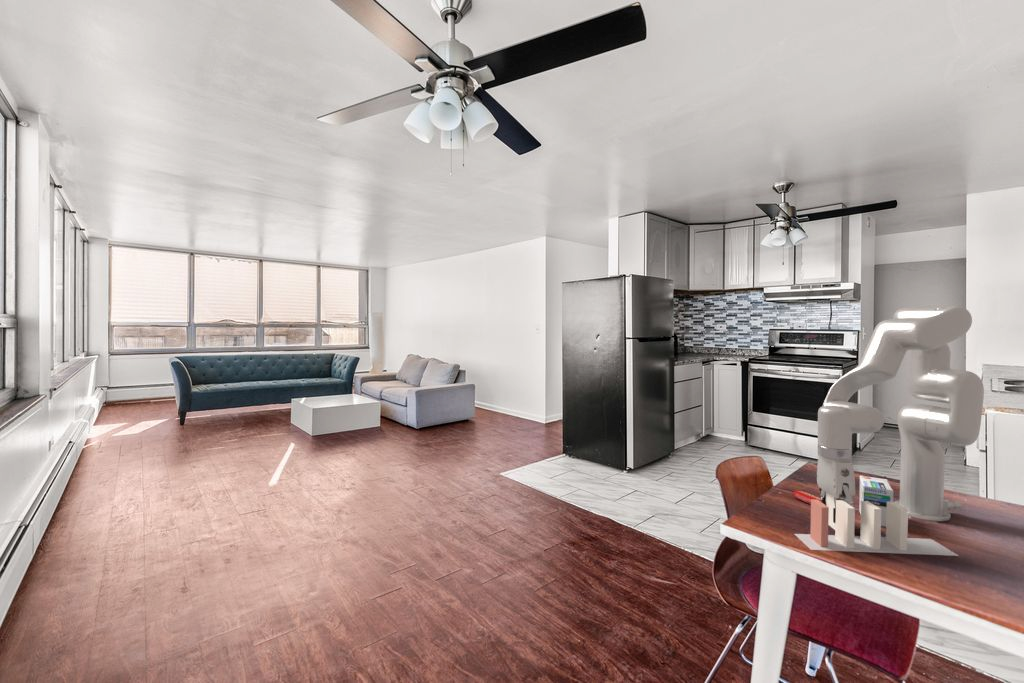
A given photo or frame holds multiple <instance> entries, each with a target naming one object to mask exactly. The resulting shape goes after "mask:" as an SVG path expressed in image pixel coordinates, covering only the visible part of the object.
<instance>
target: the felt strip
mask: <svg viewBox="0 0 1024 683" xmlns="http://www.w3.org/2000/svg"><path fill="white" fill-rule="evenodd" d="M794 536H796V537H797V538H798V540H799V541H801V542H802V543H803V544H804V545H805V546H806V547H808V548H809V550H810V551H828V552H829V551H831V552H832V551H833V552H851V553H852V552H853V553H855V552H857V553H877V554H878V553H880V554H904V555H905V554H906V555H927V556H928V555H930V556H931V555H932V556H952V557H953V556H954V557H955V556H956V557H959V556H960V555H959V554H957V553H955V552H953V550H950V549H949V548H947V547H945V546H943V545H942V544H940V543H939V542H937V541H936V540H934V539H932V538H916V537H907V550H899V549H898V548H896V547H895V546H893V545H892V544H891V543H889V542H888V541H886V536H881V544H880V549H873V548H871V547H870V546H869V545H867V544H866V543H865V542H863V541H862V540H861V539H860V535H854V548H847V547H845V546H844V545H843V544H842V543H840V542H839V541H838V540H837V539H835V534H828V547H821V546H820V545H818V544H817V543H816V542H815V541H814V540H813V539H812V538H811V537H810V533H807V534H806V533H794Z"/></svg>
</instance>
